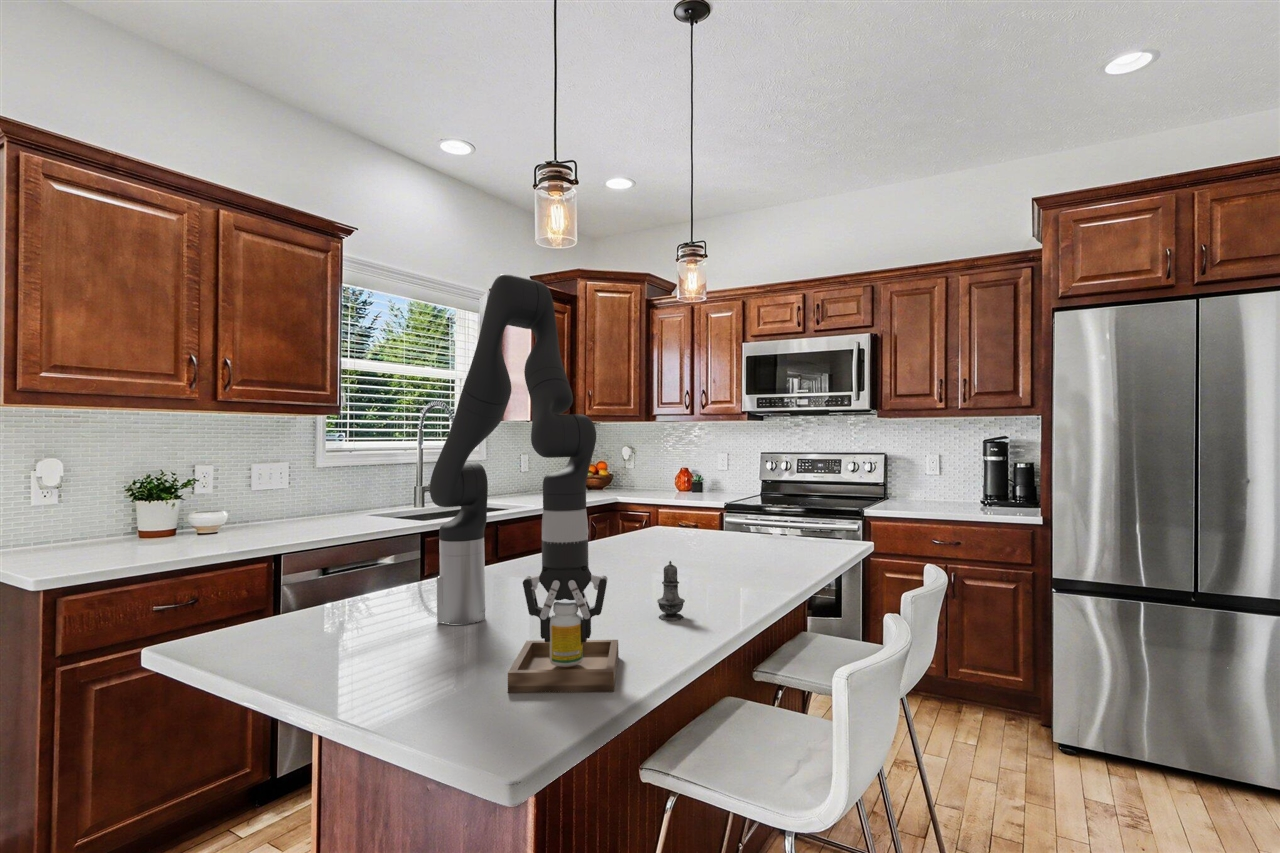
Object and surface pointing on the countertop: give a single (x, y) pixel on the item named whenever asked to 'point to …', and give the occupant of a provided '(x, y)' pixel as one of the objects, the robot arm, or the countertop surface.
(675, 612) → the salt shaker
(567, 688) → the tray
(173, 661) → the countertop surface
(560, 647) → the supplement bottle
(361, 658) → the countertop surface
